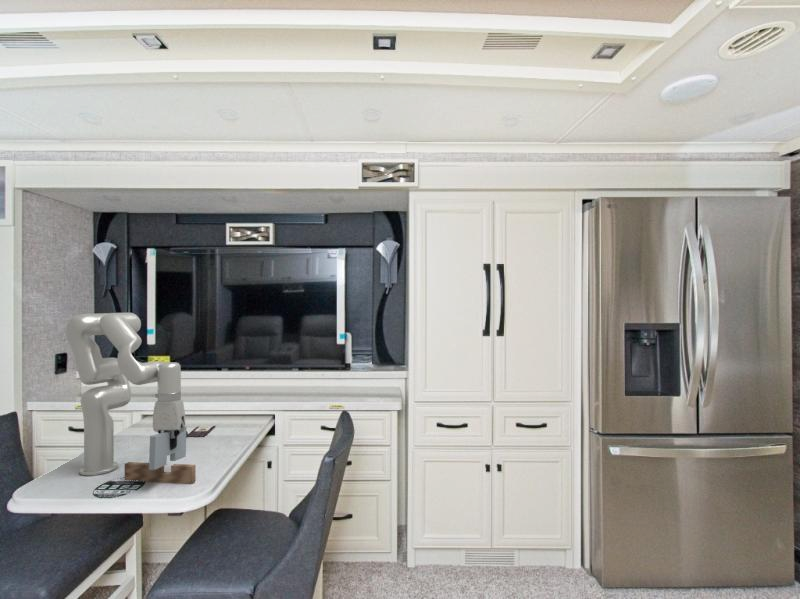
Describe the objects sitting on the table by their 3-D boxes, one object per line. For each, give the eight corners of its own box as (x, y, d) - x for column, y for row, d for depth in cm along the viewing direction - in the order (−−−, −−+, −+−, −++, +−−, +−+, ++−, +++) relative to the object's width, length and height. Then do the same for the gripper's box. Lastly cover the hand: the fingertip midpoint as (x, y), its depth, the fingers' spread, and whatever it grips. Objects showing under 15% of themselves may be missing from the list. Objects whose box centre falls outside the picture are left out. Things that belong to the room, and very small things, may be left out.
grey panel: (154, 469, 156) (155, 436, 157) (148, 469, 157) (150, 436, 158) (185, 456, 174) (186, 426, 175) (180, 456, 174) (181, 426, 175)
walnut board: (124, 480, 167) (124, 463, 167) (128, 478, 169) (128, 462, 169) (192, 483, 163) (192, 466, 163) (195, 481, 165) (195, 464, 165)
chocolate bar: (185, 436, 219) (197, 426, 237) (185, 438, 219) (197, 428, 237) (205, 435, 220) (215, 425, 238) (205, 437, 220) (215, 427, 238)
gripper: (142, 399, 164) (142, 451, 164) (183, 399, 162) (184, 452, 162) (155, 395, 171) (156, 444, 171) (195, 395, 169) (196, 445, 169)
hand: (170, 448), depth 167 cm, fingers closed on grey panel, 1 cm apart
